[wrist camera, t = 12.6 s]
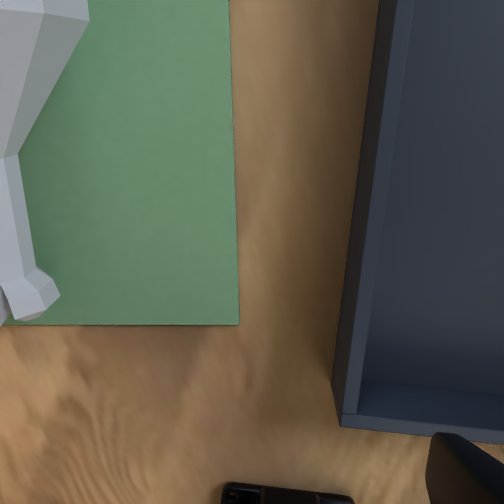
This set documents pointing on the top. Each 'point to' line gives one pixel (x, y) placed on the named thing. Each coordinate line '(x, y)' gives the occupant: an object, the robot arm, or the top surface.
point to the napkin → (138, 170)
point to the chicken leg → (17, 129)
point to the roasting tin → (428, 229)
